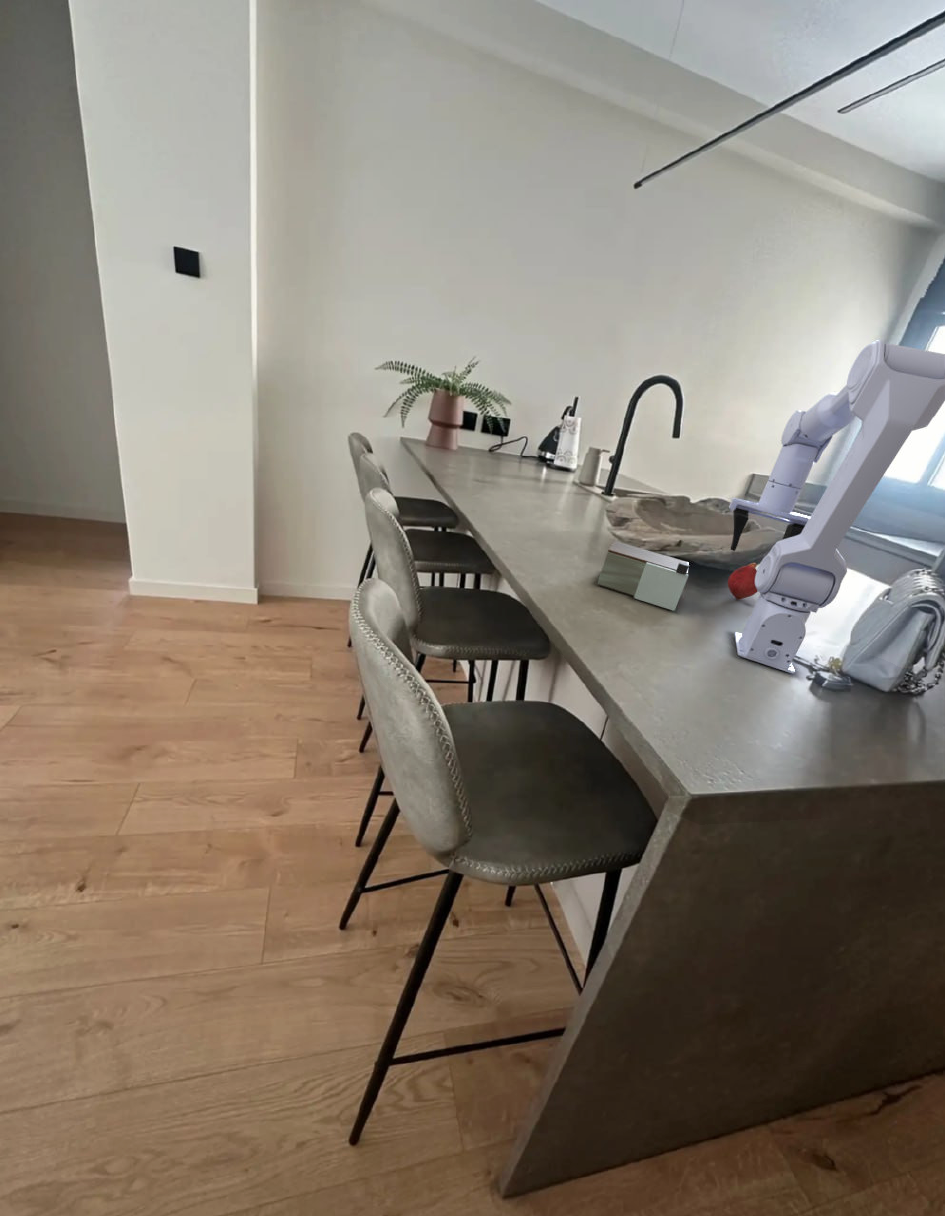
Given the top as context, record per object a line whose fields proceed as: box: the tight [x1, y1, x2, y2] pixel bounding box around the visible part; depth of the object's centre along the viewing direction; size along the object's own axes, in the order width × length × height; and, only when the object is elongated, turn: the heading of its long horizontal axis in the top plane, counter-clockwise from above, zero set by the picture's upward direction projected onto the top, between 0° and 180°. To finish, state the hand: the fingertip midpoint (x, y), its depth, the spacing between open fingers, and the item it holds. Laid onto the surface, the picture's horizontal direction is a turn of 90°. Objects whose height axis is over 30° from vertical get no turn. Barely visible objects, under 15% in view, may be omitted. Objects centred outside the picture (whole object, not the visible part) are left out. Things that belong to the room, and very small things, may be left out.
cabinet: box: [596, 540, 689, 598], centre depth 97 cm, size 8×14×7 cm, turn 68°
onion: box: [727, 562, 759, 601], centre depth 105 cm, size 6×6×8 cm
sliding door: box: [633, 562, 690, 612], centre depth 91 cm, size 1×7×8 cm, turn 68°
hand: (753, 555), depth 100 cm, fingers open, 7 cm apart
